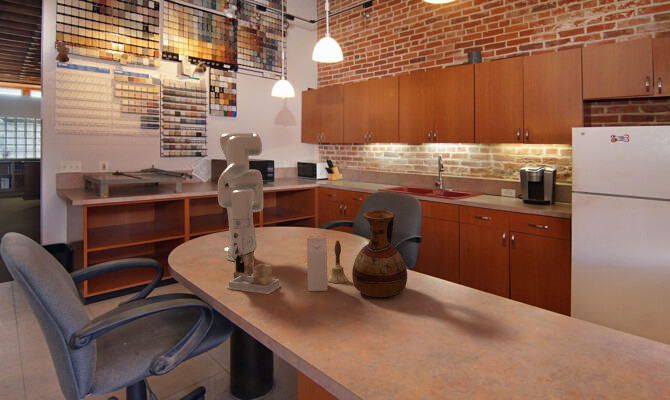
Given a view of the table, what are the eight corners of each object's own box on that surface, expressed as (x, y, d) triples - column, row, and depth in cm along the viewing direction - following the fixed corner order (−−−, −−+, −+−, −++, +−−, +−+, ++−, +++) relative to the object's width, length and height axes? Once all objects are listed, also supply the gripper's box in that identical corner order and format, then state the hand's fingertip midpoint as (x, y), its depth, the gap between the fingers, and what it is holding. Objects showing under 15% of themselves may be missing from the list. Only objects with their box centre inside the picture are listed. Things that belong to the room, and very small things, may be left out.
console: (234, 279, 158) (233, 272, 158) (241, 276, 163) (240, 269, 163) (244, 281, 157) (244, 273, 156) (251, 277, 161) (251, 270, 161)
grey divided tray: (227, 288, 148) (226, 281, 148) (240, 281, 157) (240, 274, 156) (269, 294, 142) (268, 287, 142) (281, 286, 150) (280, 279, 150)
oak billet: (247, 276, 147) (246, 255, 146) (235, 275, 149) (234, 254, 148) (254, 272, 151) (253, 252, 151) (243, 271, 153) (242, 251, 152)
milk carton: (307, 285, 151) (306, 236, 149) (326, 284, 152) (325, 235, 149) (308, 291, 144) (306, 240, 142) (327, 290, 145) (326, 240, 142)
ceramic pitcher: (344, 298, 137) (343, 213, 134) (361, 280, 156) (361, 205, 152) (400, 305, 131) (401, 215, 127) (411, 285, 149) (412, 207, 145)
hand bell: (350, 277, 159) (350, 239, 157) (344, 284, 151) (344, 243, 149) (331, 276, 162) (330, 237, 160) (324, 282, 154) (323, 242, 152)
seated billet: (253, 288, 147) (252, 267, 146) (260, 284, 151) (260, 263, 150) (265, 289, 145) (264, 268, 144) (272, 285, 149) (271, 264, 148)
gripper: (238, 227, 139) (240, 277, 141) (263, 219, 154) (265, 265, 156) (220, 226, 141) (222, 275, 143) (246, 218, 157) (248, 263, 159)
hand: (244, 269), depth 150 cm, fingers closed on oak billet, 5 cm apart
